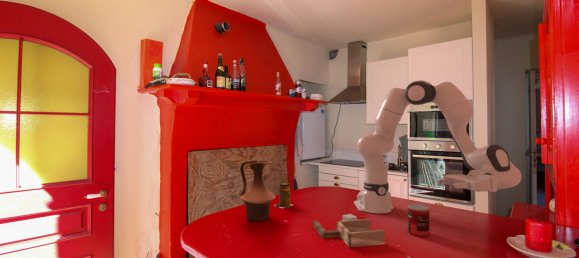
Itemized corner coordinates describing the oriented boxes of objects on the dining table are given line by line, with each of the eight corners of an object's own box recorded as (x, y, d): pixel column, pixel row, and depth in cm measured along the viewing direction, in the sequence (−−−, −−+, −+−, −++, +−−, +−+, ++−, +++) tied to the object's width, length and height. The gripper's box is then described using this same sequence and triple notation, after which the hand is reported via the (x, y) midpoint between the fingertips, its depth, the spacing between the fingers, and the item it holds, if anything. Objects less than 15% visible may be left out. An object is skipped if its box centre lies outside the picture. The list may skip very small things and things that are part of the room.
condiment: (293, 205, 153) (293, 183, 152) (282, 208, 147) (282, 186, 146) (284, 202, 158) (284, 181, 158) (273, 205, 152) (273, 184, 152)
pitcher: (236, 224, 124) (235, 162, 124) (241, 212, 141) (240, 157, 141) (275, 223, 125) (274, 161, 124) (276, 211, 142) (275, 157, 141)
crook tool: (313, 225, 122) (313, 221, 122) (328, 224, 123) (328, 219, 123) (322, 238, 108) (322, 233, 108) (339, 236, 110) (339, 231, 110)
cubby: (337, 233, 113) (336, 221, 113) (369, 230, 115) (369, 218, 115) (348, 247, 100) (348, 233, 100) (385, 244, 102) (384, 230, 102)
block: (342, 225, 122) (342, 215, 122) (350, 223, 124) (350, 213, 123) (348, 229, 118) (348, 218, 118) (357, 227, 119) (357, 216, 119)
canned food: (412, 228, 117) (412, 202, 117) (432, 233, 111) (432, 206, 111) (404, 233, 112) (404, 206, 112) (425, 239, 106) (425, 210, 106)
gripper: (460, 170, 124) (431, 173, 123) (498, 175, 103) (463, 179, 102) (462, 184, 123) (432, 187, 122) (500, 192, 103) (465, 196, 102)
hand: (446, 184), depth 112 cm, fingers open, 8 cm apart
